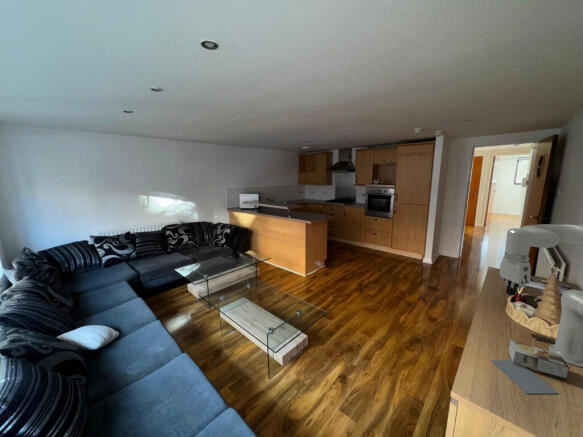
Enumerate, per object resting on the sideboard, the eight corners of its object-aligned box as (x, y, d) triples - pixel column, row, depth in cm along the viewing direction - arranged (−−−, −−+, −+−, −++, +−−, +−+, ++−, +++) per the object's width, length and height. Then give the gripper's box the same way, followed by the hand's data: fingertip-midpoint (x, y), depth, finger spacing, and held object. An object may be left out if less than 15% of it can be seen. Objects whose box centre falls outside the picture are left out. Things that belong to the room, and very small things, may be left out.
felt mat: (518, 360, 103) (518, 360, 103) (558, 393, 87) (558, 393, 87) (491, 360, 103) (491, 360, 103) (526, 394, 87) (526, 393, 87)
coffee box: (512, 363, 101) (566, 382, 92) (514, 350, 100) (570, 368, 91) (508, 350, 108) (558, 366, 99) (510, 338, 107) (561, 353, 98)
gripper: (542, 262, 94) (536, 303, 97) (508, 250, 109) (503, 286, 112) (524, 263, 94) (519, 304, 97) (492, 251, 109) (488, 287, 112)
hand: (510, 294), depth 104 cm, fingers closed
